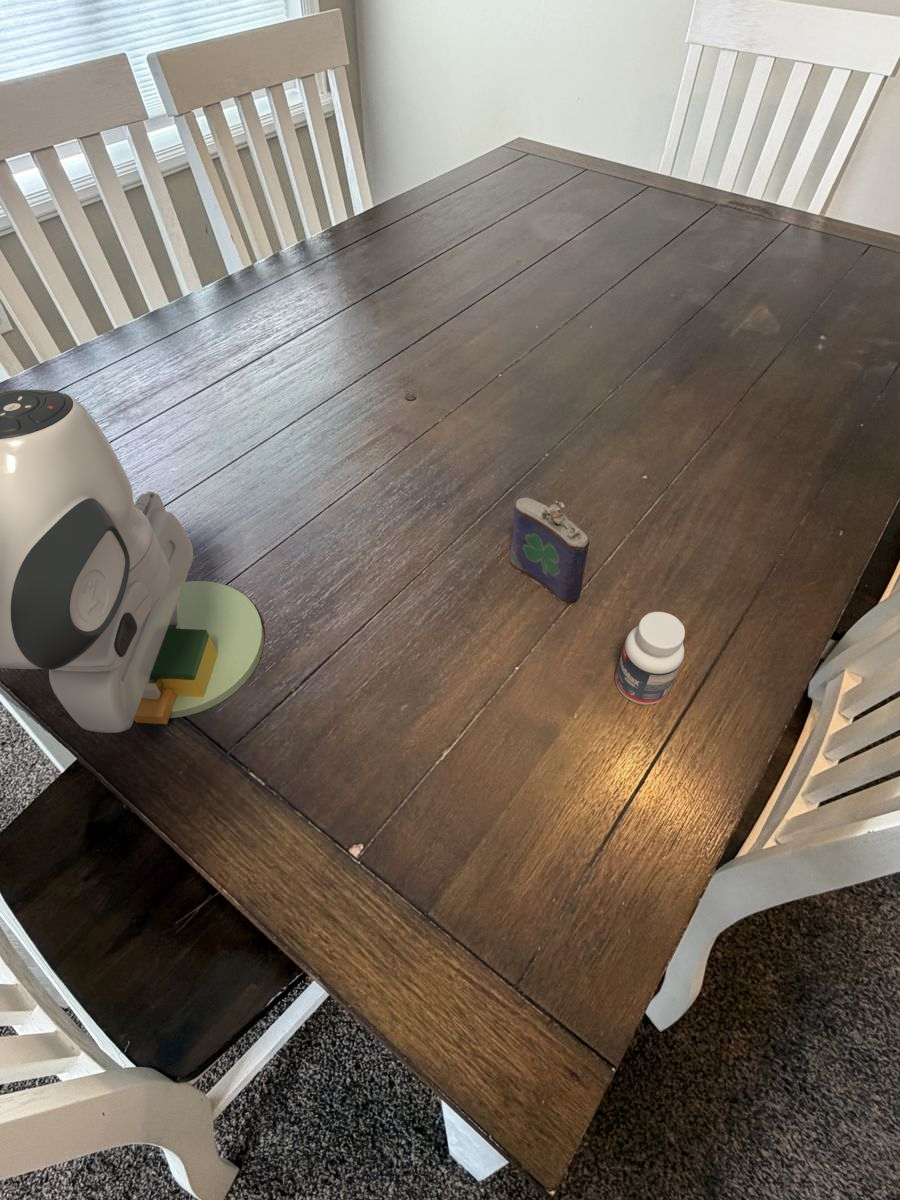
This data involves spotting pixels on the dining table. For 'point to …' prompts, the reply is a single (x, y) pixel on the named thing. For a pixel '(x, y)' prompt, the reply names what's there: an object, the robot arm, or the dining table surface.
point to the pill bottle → (651, 658)
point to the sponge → (185, 661)
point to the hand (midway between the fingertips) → (164, 664)
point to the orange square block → (156, 708)
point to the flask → (549, 548)
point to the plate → (221, 640)
